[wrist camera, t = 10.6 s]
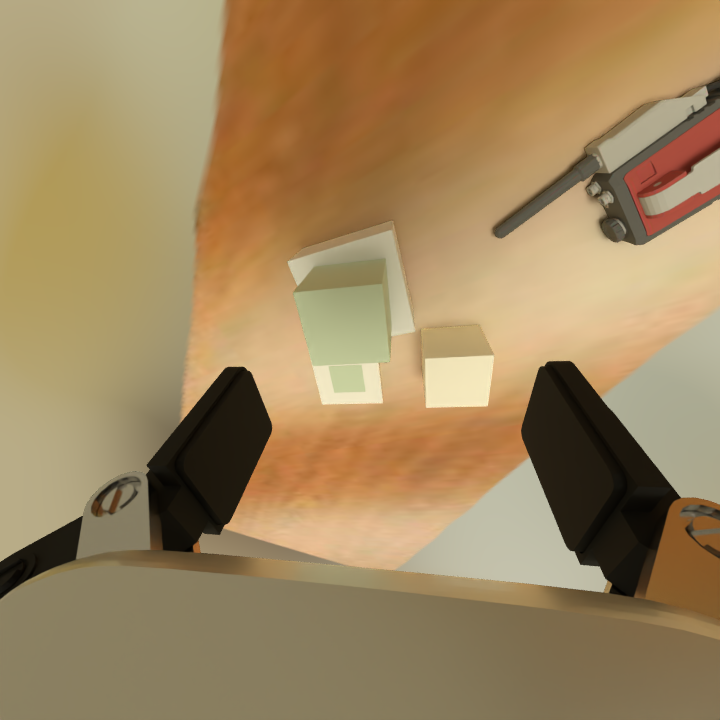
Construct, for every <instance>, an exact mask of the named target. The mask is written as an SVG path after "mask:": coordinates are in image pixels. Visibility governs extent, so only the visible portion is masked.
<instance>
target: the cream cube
mask: <svg viewBox="0 0 720 720" xmlns="http://www.w3.org/2000/svg"><path fill="white" fill-rule="evenodd" d="M421 342H422V376H423V385H424V394H425V404H426V408H429V407H472V406H488V400H489V392H490V385H491V377H492V369H493V362H494V353H493V351H492V349H491V347H490V345H489V343H488V341H487V339H486V337H485V335H484V333H483V331H482V329H481V327H480V325H470V326H455V327H440V328H425V329H421Z"/></svg>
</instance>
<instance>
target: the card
mask: <svg viewBox="0 0 720 720" xmlns="http://www.w3.org/2000/svg"><path fill="white" fill-rule="evenodd" d="M309 355H310V354H309ZM310 359H311V357H310ZM311 363H312V361H311ZM312 366H313V365H312ZM313 370H314V374H315V378H316V382H317V386H318V390H319V393H320V397H321V401H322V404H362V403H383V395H382V386H381V377H380V369H379V363H363V364H344V365H325V366H313Z"/></svg>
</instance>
